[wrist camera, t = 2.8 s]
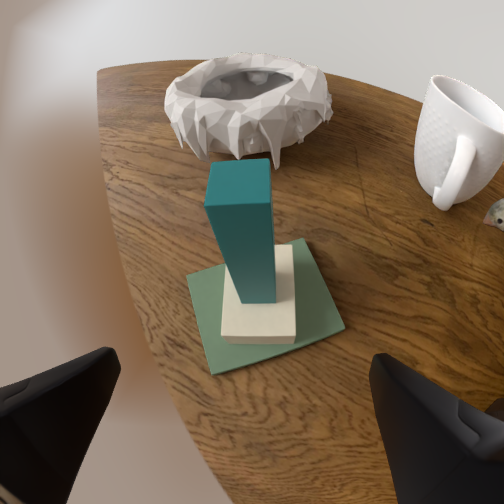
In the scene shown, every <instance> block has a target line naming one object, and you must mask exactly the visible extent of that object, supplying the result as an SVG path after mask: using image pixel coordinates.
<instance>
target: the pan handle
mask: <svg viewBox="0 0 504 504" xmlns="http://www.w3.org/2000/svg"><path fill="white" fill-rule="evenodd" d="M484 413H486V414H488V415H490V416H492V417H495V418H497V419H499V420H501V421H503V422H504V398H500V399H497V400H496V401H495V402H494V403H493V404H492V405H491V406H490V407H489V408H488V409H487V410H486V411H485V412H484Z"/></svg>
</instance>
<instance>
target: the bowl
mask: <svg viewBox="0 0 504 504" xmlns="http://www.w3.org/2000/svg"><path fill="white" fill-rule="evenodd" d="M331 102H332V99H331V94H329V92H328V90H327V82H326V78H325V75H324V74H323V72H322V71H321V70H320V69H319V68H318V66H307V65H305V64H303V63H301V62H299V61H296V60H293V59H290V58H285V57H278V56H274V55H268V54H251V53H242V52H241V53H238V54H235V55H232V56H229V57H224V58H216V59H211V60H207V61H204V62H203V63H201V64H199V65H197V66H195V67H194V68H193V69H191V70H190V71H189V72H187V73H186V74H185V75H183V76H180V77H177V78H176V79H175V80H174V81H173V82H172V83H171V85H170V86H169V87H168V89H167V91H166V96H165V112H166V114H167V116H168V117H169V119H170V121H171V127H172V128H173V129H174V131H175V134H176V136H177V137H178V138H177V139H178V140H179V142H180V145H181V147H182V148H183V141H185V142H187V143H188V145H189V146H190V147H191V149H192V150H193V151H194V153H195V154H196V155H197V157H198V158H199V159H200V161H204V162H208V163H210V158H209V152H218V153H226V154H234V155H235V157H236V158H237V159H238V160H240V159H241V157H242V156H243V155H248V154H254V153H260V152H262V153H263V152H266V151H269V152H271V155H272V159H273V163H274V166H275V169H277V168H278V167H279V163H280V149H281V148H283V147H287V146H291V145H293V144H294V143H295V142H298V143H299V144H300V143H302V142H304V136H306V135H307V134H309V133H310V132H312V131H313V130H314V129H315V128H316V127H317V126H318V125H319V124H320V123H321V122H322V120H323V121H324V123H325V120H327V124H328V125H329V120H330V117H331V116H332V114H333V111H332V110H331ZM208 151H209V152H208Z"/></svg>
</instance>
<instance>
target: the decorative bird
mask: <svg viewBox="0 0 504 504" xmlns="http://www.w3.org/2000/svg"><path fill="white" fill-rule="evenodd" d="M483 224H486V225H489V226H493V227H497V228H499V229H500V230H502V231H503V232H504V198H503V199H500V200H499V201H497V202H495V203H494V204H493V205H492V206H491V207H490V209H489V211H488V213H487V214H486V216H485V218H484V220H483Z"/></svg>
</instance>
